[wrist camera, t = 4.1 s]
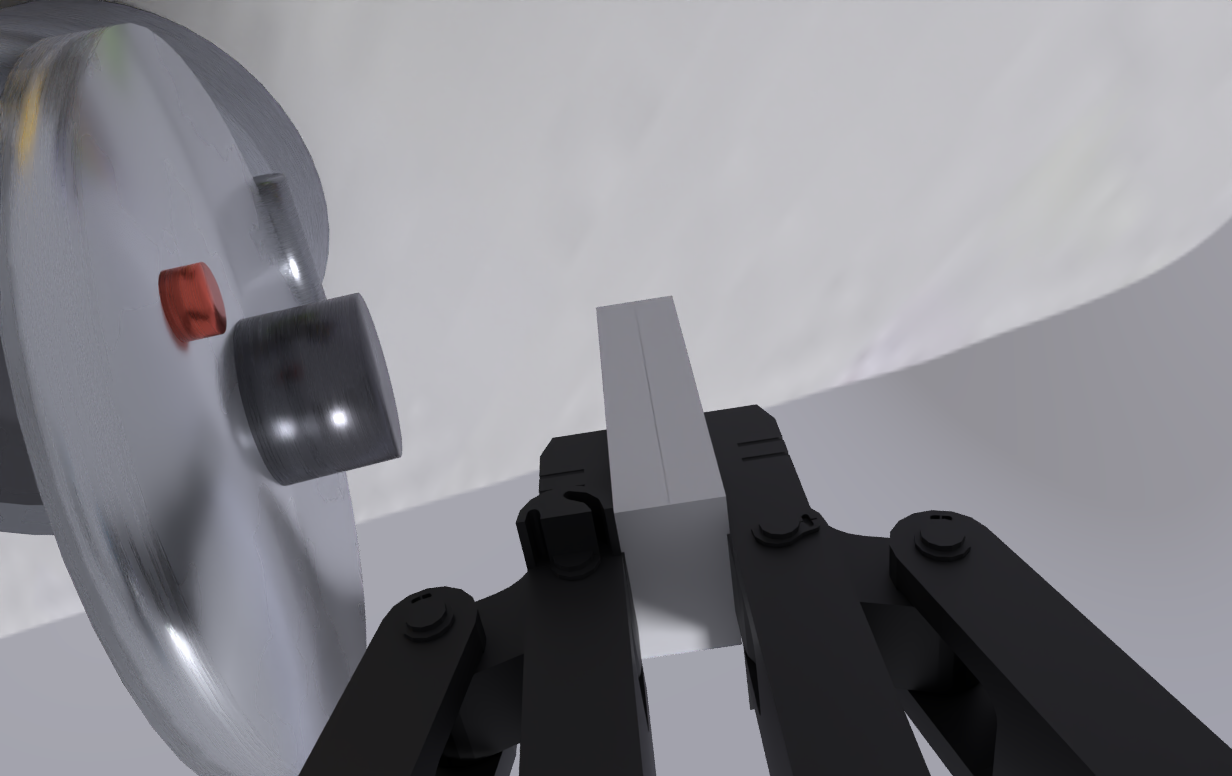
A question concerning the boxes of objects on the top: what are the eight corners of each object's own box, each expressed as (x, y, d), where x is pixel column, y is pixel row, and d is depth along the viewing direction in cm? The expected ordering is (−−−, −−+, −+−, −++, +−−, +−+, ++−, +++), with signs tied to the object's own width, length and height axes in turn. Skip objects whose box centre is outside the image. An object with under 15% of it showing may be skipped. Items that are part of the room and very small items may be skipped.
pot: (63, 477, 40) (-73, 644, 31) (-244, -78, 29) (-585, -58, 20) (437, 417, 40) (405, 569, 31) (269, -166, 29) (147, -183, 20)
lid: (297, 975, 16) (495, 911, 17) (-204, 137, 9) (183, 65, 9) (330, 500, 29) (441, 471, 29) (139, -2, 22) (292, -29, 22)
